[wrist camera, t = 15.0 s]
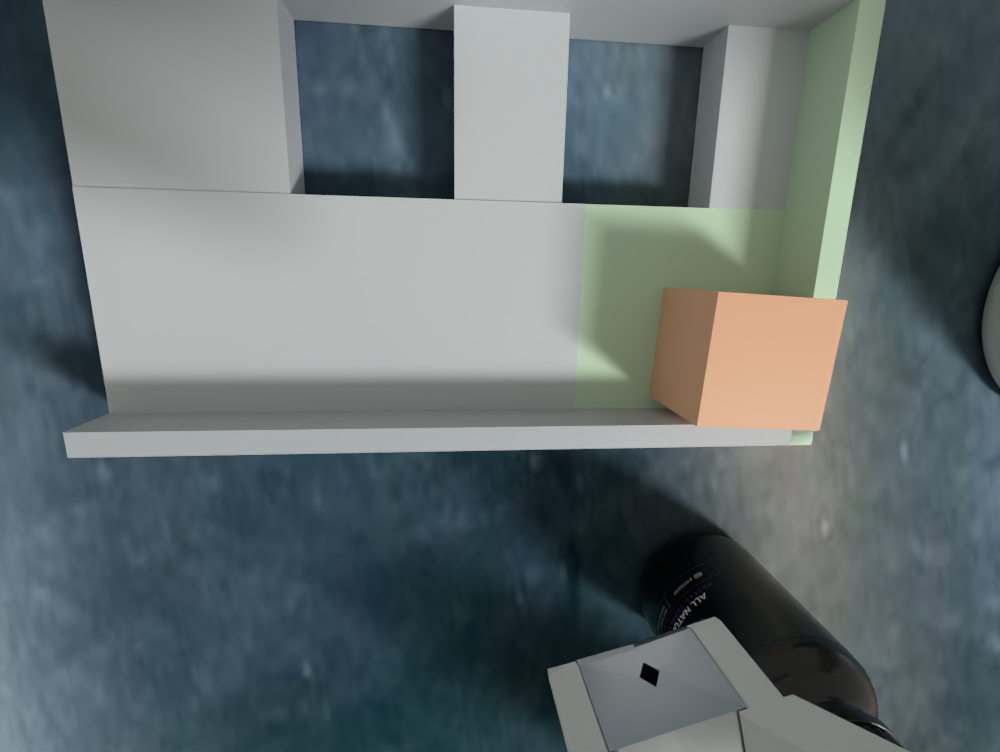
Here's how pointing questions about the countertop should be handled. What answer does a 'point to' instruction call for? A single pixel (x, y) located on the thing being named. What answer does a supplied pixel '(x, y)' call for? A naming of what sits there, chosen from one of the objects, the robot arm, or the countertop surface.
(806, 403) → the block
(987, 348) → the cylinder vase
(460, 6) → the tray
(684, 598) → the supplement bottle
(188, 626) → the countertop surface
